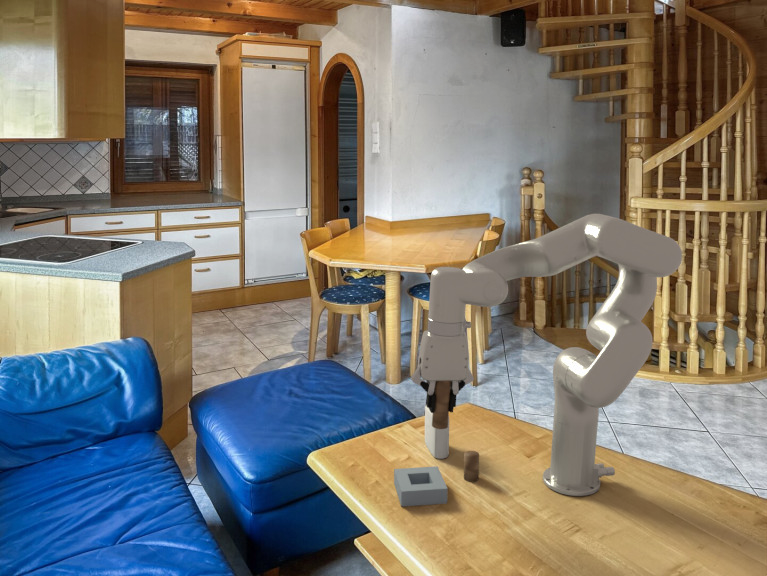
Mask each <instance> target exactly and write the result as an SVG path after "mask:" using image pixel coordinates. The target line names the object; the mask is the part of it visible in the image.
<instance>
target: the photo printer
mask: <svg viewBox="0 0 767 576" xmlns="http://www.w3.org/2000/svg"><path fill="white" fill-rule="evenodd" d="M432 415H433V413H431V412H430V410H429V408H427V406H426V405H425V407H424V444H425V447H426V448H427V449H428V451H429V452H430V454H431V455H432V456H433V458H436V459H446V458H447V457H449V453H450V449H449V448H450V416H448V427H447V428H446V429H436V428H434V427H432Z"/></svg>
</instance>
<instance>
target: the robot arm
mask: <svg viewBox="0 0 767 576" xmlns="http://www.w3.org/2000/svg"><path fill="white" fill-rule="evenodd" d="M595 257H600V258H601V259H602V258H603V259H605V260H607V261H610V262H613V263H615V264H617V266H618V276H617V281H616V283H615V286H614V287H613V289H612V290H611V292H610V293H609V295H608V296H607V298H606V299H604V302H603V303H602V304H601V306H599V308H598V310H597V311H596V313H595V314H594V315H593V316H592V318H591V319H590V321H589V322H588V325H587V327H586V331H585V334H586V338H587V341H588V342H589V343H590V344H591V345H592V346H593V347H594V348H596V349H597V350H598V351H600V352H599V353H598V355H596V354H595V353H593V352H591V351H589V350H588V349H585V348H582V347H579V346H575V347H574V346H572V347H571V346H570V347H567V348H566V349H564V350H562V351H561V352H560V353H559V354H557V357H556V358H555V360H554V363H553V368H552V380H553V389H554V406H553V407H554V408H553V409H554V410H553V424H552V438H551V452H550V453H551V455H550V467H548V468H546V469H545V470H544V471H543V474H542V480H543V483H544V485H546V486H547V488H549V489H550V490H552V491H554V492H556V493H559V494H562V495H566V496H573V497H586V496H590V495H593V494H595V493H597V492H598V491H599V490H600V487H601V480H600V478H601V479H602V477H604V476H605V477H609V476H612V477H613V476H615V473H616V470H615V468H614V467H613V466H606V467H605V464H604V463H603V462H602V463H601V462H600V463H595V462H596V449H597V440H598V439H597V438H598V437H597V436H598V424H599V414H600V413H599V410H600V409H601V408H605V407H608V406H609V405H612V404H613V403H614V402H616V400H617V399H619V397H620V396H622V394H623V392H624V391H625V390H626V389H627V387H628V386H629V384H630V383H631V382H632V381H633V379H634V378H635V376H636V375H637V374H638V372H639V371H640V370H641V369H642V367H643V366H644V365H645V363H646V361H647V360H648V358H649V356H650V355H651V351H652V349H653V336H652V331H651V330H650V329H649V327H648V326H647V325H646V324H645V323H644V322H642V320H643V319H644V317H646V314H647V313H648V311H649V310H650V309H651V307H652V305H653V303H654V301H655V299H656V296H657V289H658V278H666V277H669V276H671V275H673V274H674V273H675V272H677V270H678V269H679V267H680V266H681V265H682V262H683V252H682V249H681V246H680V245H679V243H678V242H677V241H676V240H675V239H674V238H672V237H670V236H667V235H664V234H661V233H658V232H656V231H653V230H650V229H647V228H644V227H641V226H639V225H637V224H634V223H631V222H629V221H627V220H624V219H621V218H619V217H614V216H611V215H606V214H602V213H590V214H587V215H584V216H582V217H580V218H578V219H575V220H574V221H572V222H569V223H567V224H565V225H563V226H560V227H559V228H556V229H554V230H552V231H549V232H547V233H545V234H543V235H541V236H538V237H536V238H533V239H530V240H526V241H523V242H519V243H516V244H512V245H507V246H504V247H502V248H499V249H495V250H493V251H491V252H489V253H486V254H484V255H483V256H480V257H478V258H476V259H474V260H472V261H470V262H468V263H467V264H466V265H465V266H464V267H462V268H460V267H452V266H440V267H436V268H435V269H433V270H432V272H431V274H430V281H429V282H430V285H429V301H428V302H429V304H428V315H427V316H428V317H427V319H428V320H427V330H424V331H423V332H422V336H421V340H420V346H419V351H418V360H417V367H416V368H415V369H416V370H414V372H413V374H412V375H411V377H410V379H411V381H412V382H413V383H414V384H416V385H417V386H419V387H421V388H422V389H423V390H424V391H425V392H426V399H425V400H426V401H425V403H426V404H425V406H427V408H429V410H430V412H431V413H434V412H435V400H436V395H435V394H434V388H435V383H436V381H451V386H450V401H449V413H454V408H456V405H457V395H458V394H459V392H460V391H461V390H462V389H463V388H465V387H466V385H468V384H471V383H472V382H474V381H475V377H474V375H473V374H472V372H471V370H470V368H469V364H470V363H469V358H470V357H469V343H468V335H467V333H466V330H467V329H470V328H471V327H472V321H468V320H466V319H465V318H466V310H467V309H466V308H467V305H470V306H477V307H483V308H491V307H496V306H499V305H501V304H502V303H503V302H504V301H505V300H506V298H507V296H508V294H509V285H508V281H511V280H514V279H519V278H527V277H535V278H537V277H538V278H542V277H543V278H545V277H552V276H555V275H558V274H559V273H562V272H565V271H566V270H568V269H571V268H573V267H575V266H577V265H579V264H582V263H584V262H585V261H588V260H589V259H592V258H595Z"/></svg>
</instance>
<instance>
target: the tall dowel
mask: <svg viewBox="0 0 767 576" xmlns="http://www.w3.org/2000/svg"><path fill="white" fill-rule="evenodd" d="M450 386H451V381H436V383H435V388H434V394H435V395H436V400H435V412H434V413H433V415H432V427H434V428H436V429H446V428H447V427H448V416H449V414H450V412H449V401H450ZM449 417H450V416H449Z"/></svg>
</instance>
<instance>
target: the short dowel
mask: <svg viewBox="0 0 767 576" xmlns="http://www.w3.org/2000/svg"><path fill="white" fill-rule="evenodd" d="M479 476H480V454H479V451H476V450H466V451H465V452H463V479H464V481H467V482H471V483H474V482H477V481H479V479H480V478H479Z"/></svg>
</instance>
